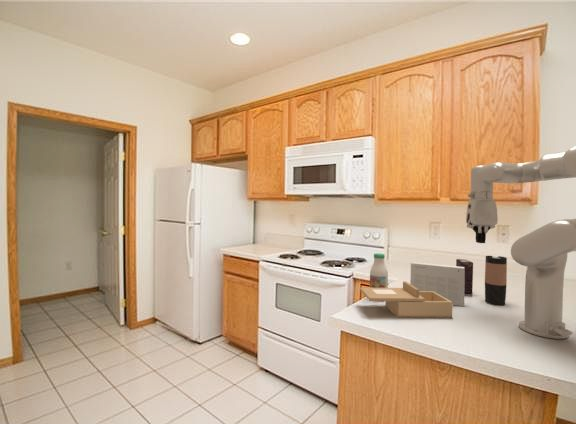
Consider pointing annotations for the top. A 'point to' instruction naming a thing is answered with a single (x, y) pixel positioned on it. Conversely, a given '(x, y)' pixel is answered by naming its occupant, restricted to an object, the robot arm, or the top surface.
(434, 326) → the top surface
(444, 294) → the skincare box
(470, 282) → the supplement box
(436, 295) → the mailer box
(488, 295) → the travel mug
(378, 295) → the lid
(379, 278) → the milk bottle
